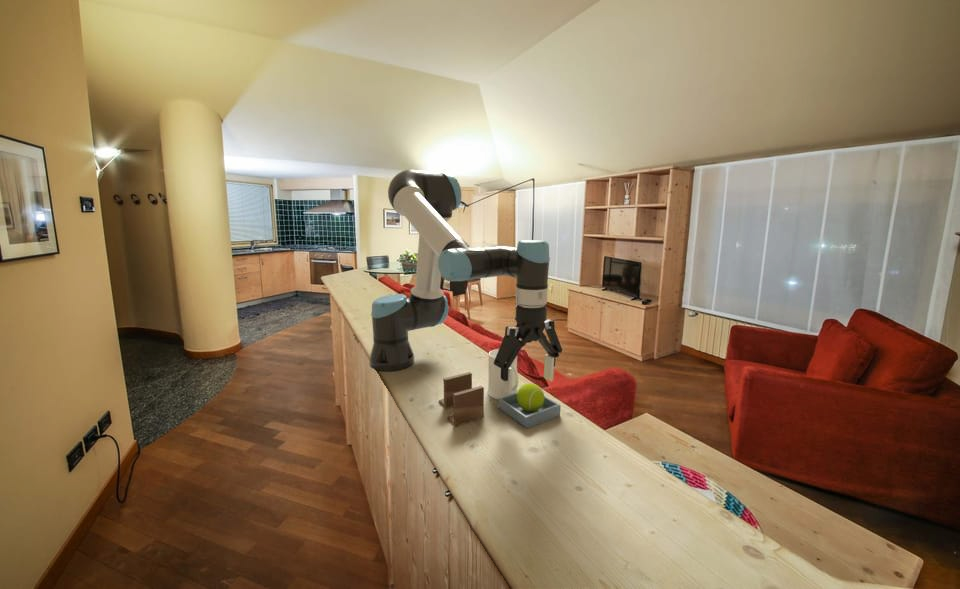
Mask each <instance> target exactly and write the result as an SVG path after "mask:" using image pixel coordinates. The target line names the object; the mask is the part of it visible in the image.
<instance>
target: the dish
mask: <svg viewBox="0 0 960 589" xmlns="http://www.w3.org/2000/svg"><path fill="white" fill-rule="evenodd" d="M517 393H518V392H517ZM517 393H515V394H512V395H509V396H505V397H502V398H499V399H498V408H497V409H498V410H499V411H500V412H501V413H503V414H504V415H506V416H507V417H508V418H510V419H511V420H512V421H514V422H515V423H517V424H518V425H519V426H521V427H522V428H524V429H526V430H527V429H529V428H532V427H535V426H537V425H540V424H542V423H545V422H548V421H550V420H553V419H555V418H558V417H560V416H561V404H560V403H558V402H556V401H555V400H553V399H551V398H549V397H547V396H546V395H544V403H543V405H542V407H541V408H540V409H538V410H537V411H533V412H529V411H526V410H524V409H522V408H521V407H520V405H519V404H518V401H517Z"/></svg>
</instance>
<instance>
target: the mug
mask: <svg viewBox="0 0 960 589" xmlns="http://www.w3.org/2000/svg"><path fill="white" fill-rule="evenodd" d="M498 351H499V348H497V349H493V350H490V351H489V352H488V384H487V385H488V388H487V395H488V396H489V397H490V398H493V399H494V400H499V398H502V397H505V396H509V395H512V394H515V393H518V389H517V388H518V386H519V382H520V381H519V373H518V355H517V356H516V358H515V359H514V361H513V363H512V364H511V366H510V368H512V394H508V393H506V392H505V391H503V380H502V379H501V368H499V367H498V366H496V365H494V360H495V358H496V355H497V353H498Z"/></svg>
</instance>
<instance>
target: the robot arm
mask: <svg viewBox="0 0 960 589" xmlns="http://www.w3.org/2000/svg"><path fill="white" fill-rule="evenodd" d="M387 198H388V201H389V204H390V205H391V207H392V209H393V210H394V211H395V212H396V213H397V214H398V215H400V216H402V217H404V218H405V219H406V220H407V221H408V222H409V223H410V225H412V227H413V229H415V230H416V232H417V234H419V235H418V245H417V246H418V248H417V260H416V262H417V263H416V272H415V273H416V274H415V286H413V287H411V289H410V296H409V297H407V295H405V294H403V293H395V294H388V295H382V296H380V297H378V298H376V299H375V300H374V301H373V302H372V303H371V314H370V316H371V322H372V337H373V345H372V348H371V352H370V356H369V367H370V368H371V369H373V370H377V371H381V372H382V371H383V372H393V371H399V370H404V369H407V368H409V367H410V366H412V365H414V363H415V354H414V352H413V349H412V346H411V344H410V340H409V332H410V331H415V330H419V329H425V328H432V327H436V326H439V325H441V324H443V323H444V322H445V321H446V319H447V318H448V315H449V310H450V306H449V304H448V302H449V300H448V299H447V298H448V297H447V296H446V295H445V294H444V291H443V290H442V289H441V281H442V279H444V280H446V282H465V281H472V280H478V279H485V278H494V277H495V278H496V277H503V276H504V277H511V278H516V284H515V285H516V286H515V287H516V288H515V290H516V291H515V303H516V305H515V320H516V325H515V326H514V327H513V326H509V325H506V326H505V330H504V336H503V339H502V341H501V343H500V346H499V348H498V349H499V351H498V353H497V355H496V358H495V360H494V365H496V366H498V367H499V368H501V379H502V380H503V391H505V392H506V393H508V394H512V368H510V366H511V364H512V363H513V361H514V359H515V358H516V356H517V357H518V355H519V353H520V352H521V350H522V348H523V347H524V346H526V345H527V344H530V343H532V342H538V343H540V345H541V347H542V348H543V349H544V350H545V351H546V353H547V354H544V370H543V378H544V379H546V380H548V381H550V382H553V381H554V370H555V367H556V358H559V357H560V353H562V352H563V348H562V345H561V342H560V340H559V337H558V334H557V332H556V326H555V321H554V320H552V319H548V318H547V315H548V307H547V306H546V305H547V303H548V289H549V288H548V286H549V284H548V283H549V282H548V281H549V268H550V261H551V259H550V258H551V257H550V244H549V243H548V241H546V240H541V239H539V240H538V239H537V240H535V239H524V240H523V239H522V240H518V241H517V247H516V246H515V247H514V246H510V245H509V246H508V245H503V244H498V245H497V244H496V245H489V246H488V247H487V246H486V247H484V246H483V247H471V246H470V245H469V243H467V242H466V241H465V240H464V239H463V237H461V236H460V234H458V232H457V231H456V230H455V229H454V228H453V227H452V226H451V225H450V223H448V221H449V220H451V218H452V217H453V211H455V210H457V209H458V208H459V206H460V205H461V203H462V189H461V185H460V183H459V181H458V178H457V177H456V176H454V175H453V174H452V173H447V172H443V171H435V170H434V171H433V170H430V171H429V170H417V169H405V170H403V171H401V172H399V173H397V174H396V175H395V176H394V177H392V180H391V181H390V182H389V186H388V190H387ZM544 330H545V333H546V335H545V333H544Z"/></svg>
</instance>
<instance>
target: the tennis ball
mask: <svg viewBox="0 0 960 589" xmlns="http://www.w3.org/2000/svg"><path fill="white" fill-rule="evenodd" d="M544 396H545V393H544V391H543V389H542V388H541V387H540V386H539V385H537V384H535V383H531V382H530V383H525V384H523V385H522V386H520V388H519V389H517V401H518V404H519V405H520V407H521V408H522V409H524V410H526V411H529V412H533V411H537V410H538V409H540V408H541V407H542V405H543V403H544Z"/></svg>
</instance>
